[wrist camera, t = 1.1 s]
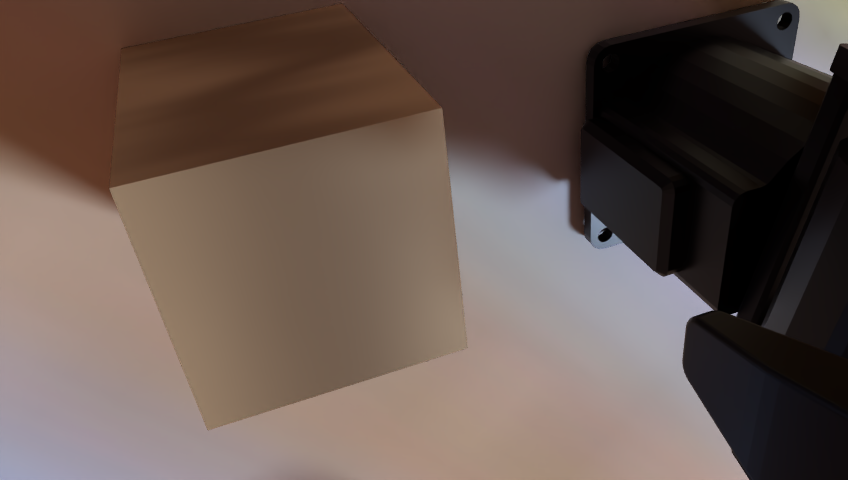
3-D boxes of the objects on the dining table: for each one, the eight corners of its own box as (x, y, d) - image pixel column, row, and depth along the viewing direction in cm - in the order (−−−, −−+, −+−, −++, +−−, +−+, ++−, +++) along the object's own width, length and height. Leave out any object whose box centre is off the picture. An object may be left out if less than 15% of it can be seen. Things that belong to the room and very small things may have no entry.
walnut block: (341, 3, 17) (442, 107, 11) (374, 188, 20) (468, 348, 14) (121, 47, 16) (108, 188, 10) (188, 237, 19) (207, 430, 13)
